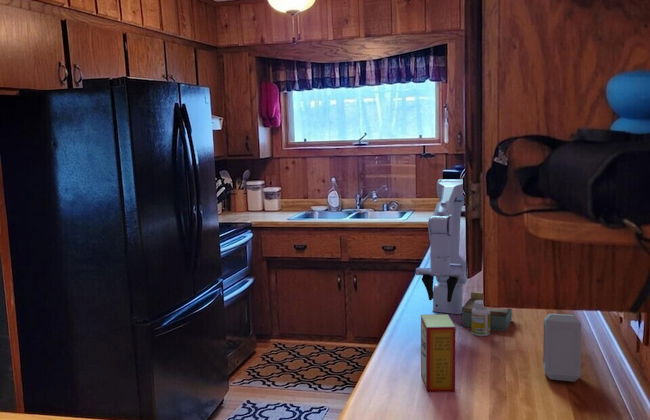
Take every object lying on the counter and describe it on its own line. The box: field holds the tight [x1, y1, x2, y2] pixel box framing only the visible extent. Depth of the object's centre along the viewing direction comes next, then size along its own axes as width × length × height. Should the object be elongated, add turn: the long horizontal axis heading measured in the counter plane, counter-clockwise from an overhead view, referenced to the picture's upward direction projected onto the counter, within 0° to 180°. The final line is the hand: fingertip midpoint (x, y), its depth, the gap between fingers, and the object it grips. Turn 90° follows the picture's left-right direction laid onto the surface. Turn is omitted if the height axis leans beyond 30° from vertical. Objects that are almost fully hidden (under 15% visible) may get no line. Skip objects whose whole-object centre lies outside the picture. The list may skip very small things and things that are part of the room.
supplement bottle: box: [471, 300, 491, 337], centre depth 174 cm, size 5×5×10 cm
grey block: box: [542, 313, 582, 382], centre depth 152 cm, size 15×8×30 cm
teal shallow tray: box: [461, 308, 513, 332], centre depth 183 cm, size 13×11×4 cm
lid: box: [462, 290, 510, 316], centre depth 183 cm, size 13×11×4 cm
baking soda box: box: [420, 313, 456, 393], centre depth 140 cm, size 10×6×16 cm
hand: (440, 300), depth 176 cm, fingers open, 5 cm apart
